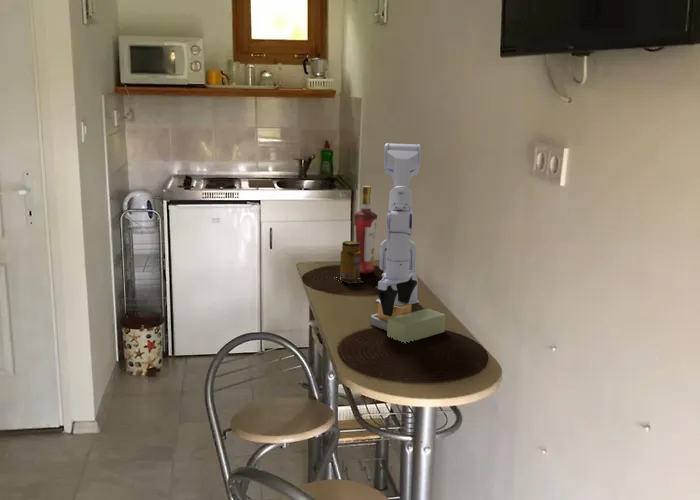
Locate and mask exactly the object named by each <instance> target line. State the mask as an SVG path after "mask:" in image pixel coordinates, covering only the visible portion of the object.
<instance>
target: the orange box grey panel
mask: <svg viewBox="0 0 700 500" xmlns="http://www.w3.org/2000/svg"><path fill="white" fill-rule="evenodd" d="M377 303H378V305H377V308H378V309H377V313H378V318H380V319H382V320H385V321H388V319H389V318H393V317H396V316H400V315H404V314H408V313H412V305H413V304H409V303H405V302H400V301H396V300H395V301H394V307H393V313H392V316H387V315H383V310H382V306H381V302H377Z"/></svg>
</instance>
